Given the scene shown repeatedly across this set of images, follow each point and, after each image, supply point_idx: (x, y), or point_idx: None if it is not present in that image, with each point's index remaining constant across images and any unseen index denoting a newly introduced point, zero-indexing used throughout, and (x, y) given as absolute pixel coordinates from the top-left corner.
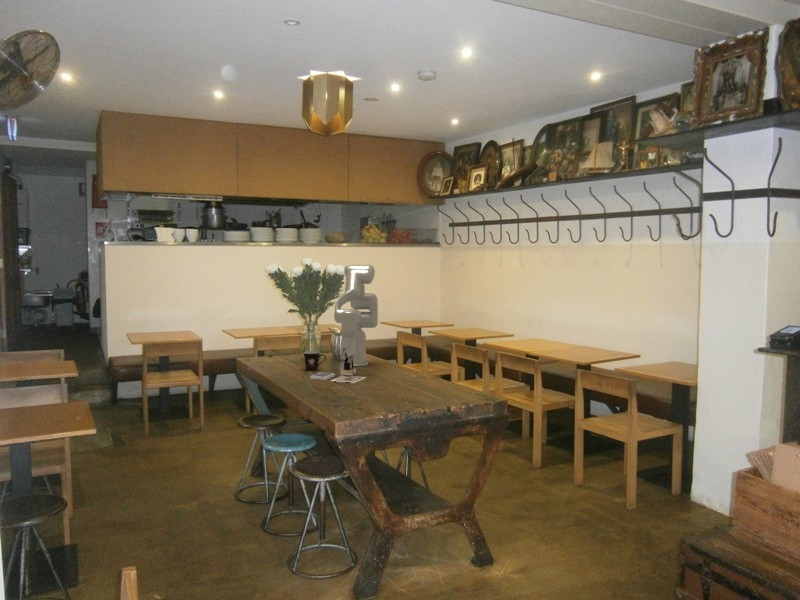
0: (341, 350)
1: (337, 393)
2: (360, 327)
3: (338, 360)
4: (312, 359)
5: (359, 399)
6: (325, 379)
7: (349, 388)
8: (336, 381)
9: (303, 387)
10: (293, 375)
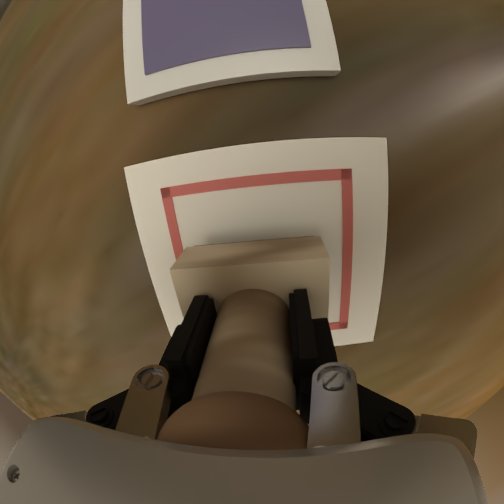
0: (10, 499)
1: (26, 338)
2: None
3: None
4: None
5: (51, 399)
6: (136, 104)
7: (87, 356)
8: (136, 223)
9: None
10: None
